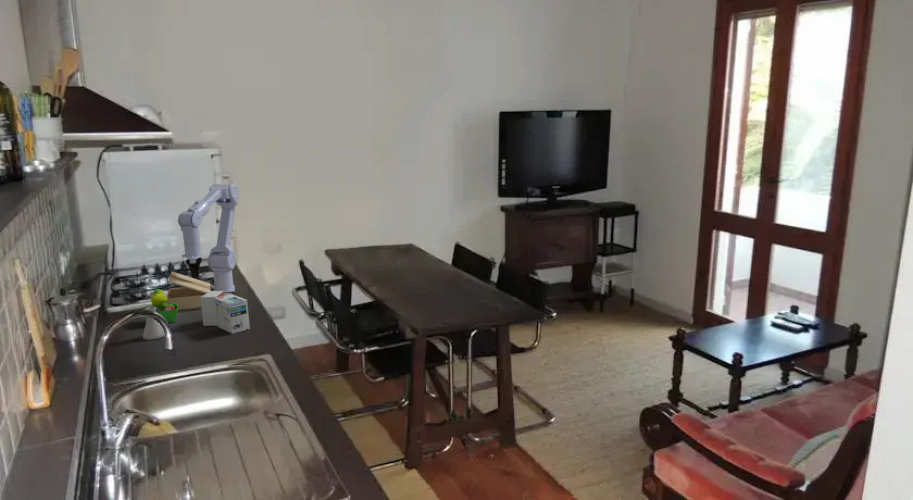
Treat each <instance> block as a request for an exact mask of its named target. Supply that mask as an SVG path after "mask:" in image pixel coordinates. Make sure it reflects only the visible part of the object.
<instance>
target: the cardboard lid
mask: <svg viewBox="0 0 913 500" xmlns="http://www.w3.org/2000/svg"><path fill="white" fill-rule="evenodd" d="M168 283H170V284H173V285H174V284H175V285H176V286H180V287H182V288H189V289H193V290H196V291H199V292H203V293H208V292H209V291H210V290H211V283H210V282H206V281H204V280H199V279H198V278H193V277H192V276H188V275H184V274H181V273H178V272H175V271H171V273H170V276H169V278H168Z"/></svg>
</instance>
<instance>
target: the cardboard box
mask: <svg viewBox="0 0 913 500" xmlns="http://www.w3.org/2000/svg"><path fill="white" fill-rule="evenodd" d="M210 291H212V290H211V289H210ZM205 294H206V293H203V292H199V291H196V290H193V289H189V288H186V287H179V288H178V287H177V288H170V289H168V292H167V294H166V297H167V304H178V311H179V312H180V311H188V310H197V309H202V307H201V298H200V297H202V296H203V295H205ZM178 311H177V312H178Z"/></svg>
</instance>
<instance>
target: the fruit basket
mask: <svg viewBox="0 0 913 500" xmlns="http://www.w3.org/2000/svg"><path fill="white" fill-rule="evenodd" d="M150 302H151V304H152V306H150V307H156V310H155V312H157V313H159V314H161V315H162V316H163V317H164V318H165V319H166V320H167V322H168V323H167V324H172V323H176V322H177V316H178V304H167V295H166V293H165V291H163V290H161V289H160V288H159V289H158V288H157V289H154V291H153V293H152V296H151V297H150ZM148 307H149V306H146V307H144V308H142V310H143V309H146V308H148ZM144 319H145V322H146V321H147V318H145V317H144Z"/></svg>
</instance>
